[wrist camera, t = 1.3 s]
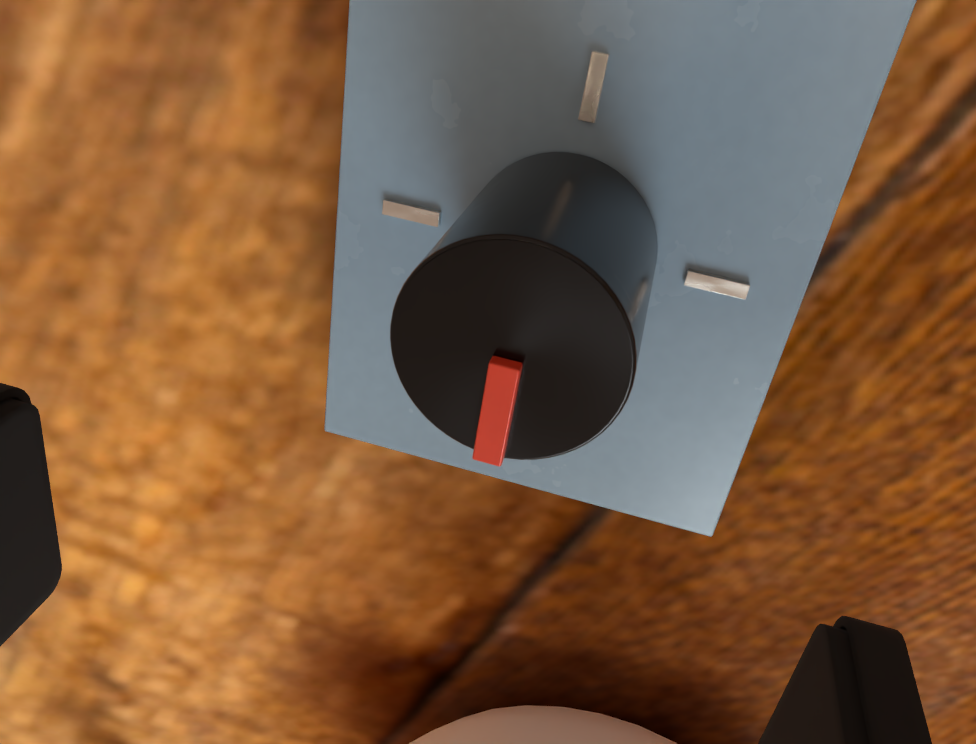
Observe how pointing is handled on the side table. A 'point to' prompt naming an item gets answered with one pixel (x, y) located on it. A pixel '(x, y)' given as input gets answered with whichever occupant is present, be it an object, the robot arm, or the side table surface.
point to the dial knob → (530, 310)
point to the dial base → (647, 166)
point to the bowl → (540, 728)
